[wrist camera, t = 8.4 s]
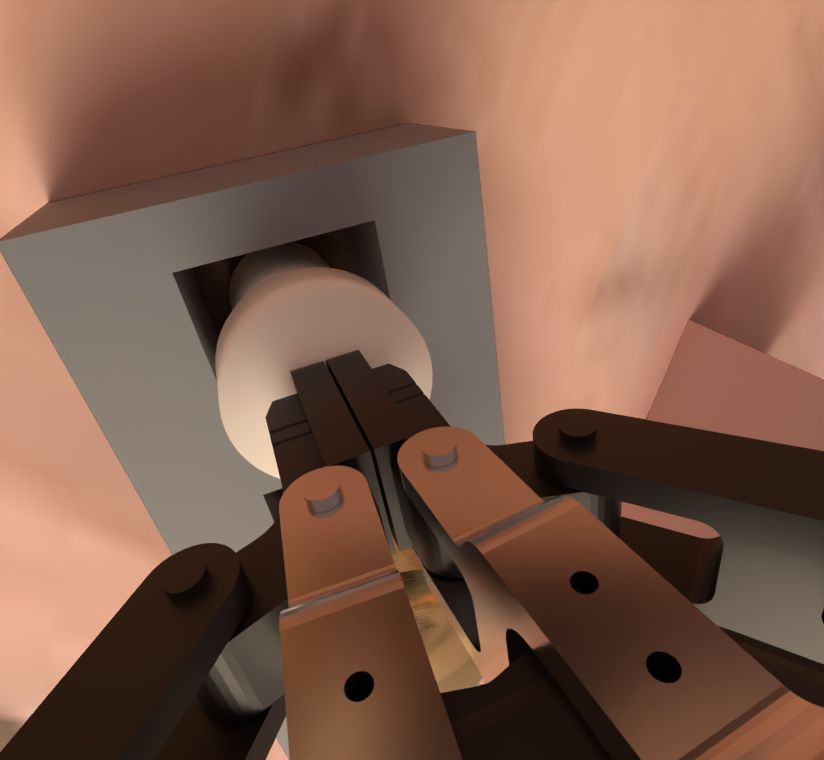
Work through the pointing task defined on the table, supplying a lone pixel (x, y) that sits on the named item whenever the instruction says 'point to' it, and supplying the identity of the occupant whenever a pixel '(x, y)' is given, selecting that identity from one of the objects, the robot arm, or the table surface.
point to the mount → (191, 323)
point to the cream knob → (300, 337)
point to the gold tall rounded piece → (435, 628)
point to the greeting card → (733, 403)
